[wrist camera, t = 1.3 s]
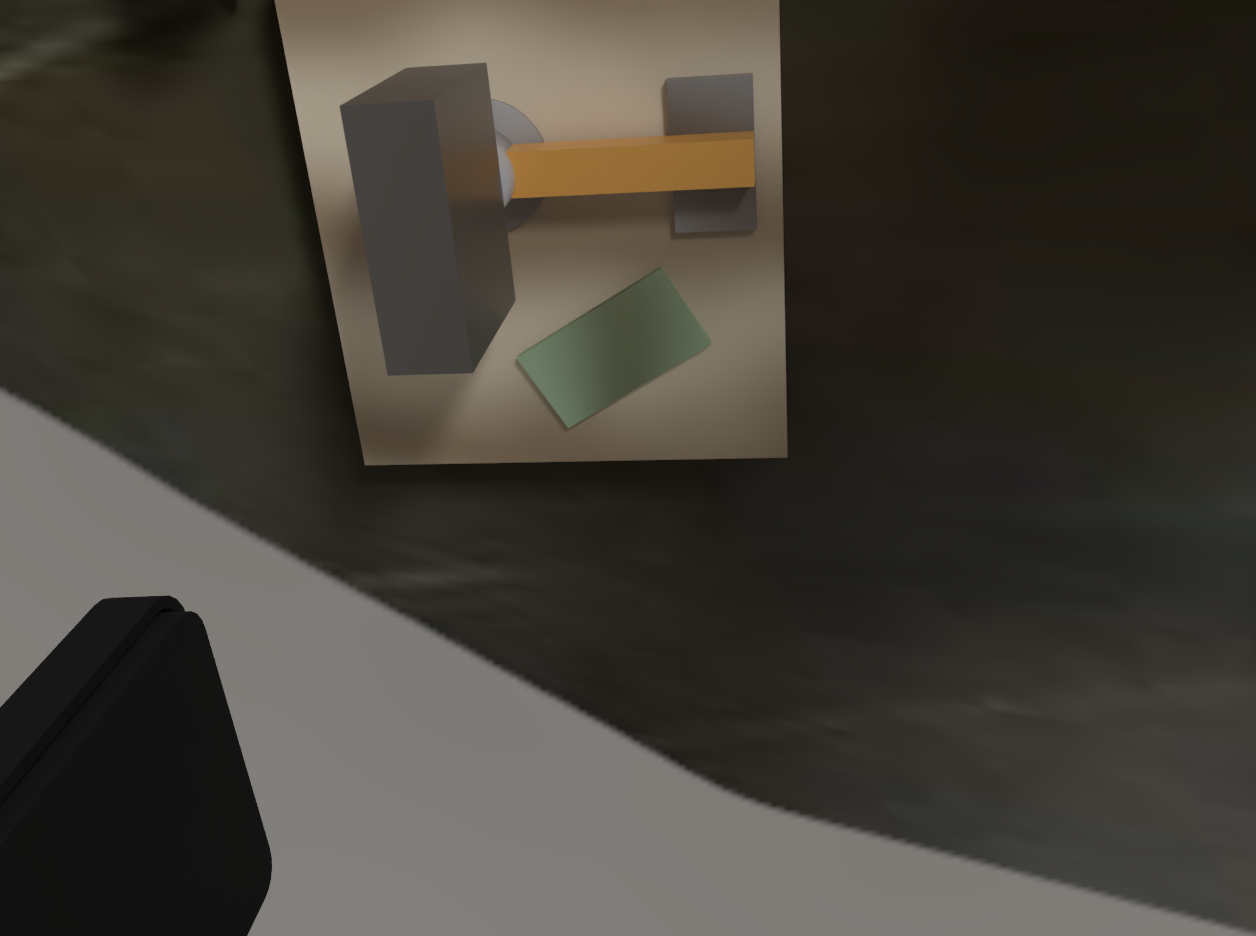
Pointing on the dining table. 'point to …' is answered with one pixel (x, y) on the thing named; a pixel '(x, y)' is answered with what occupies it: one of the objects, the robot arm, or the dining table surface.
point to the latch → (481, 202)
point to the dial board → (574, 231)
